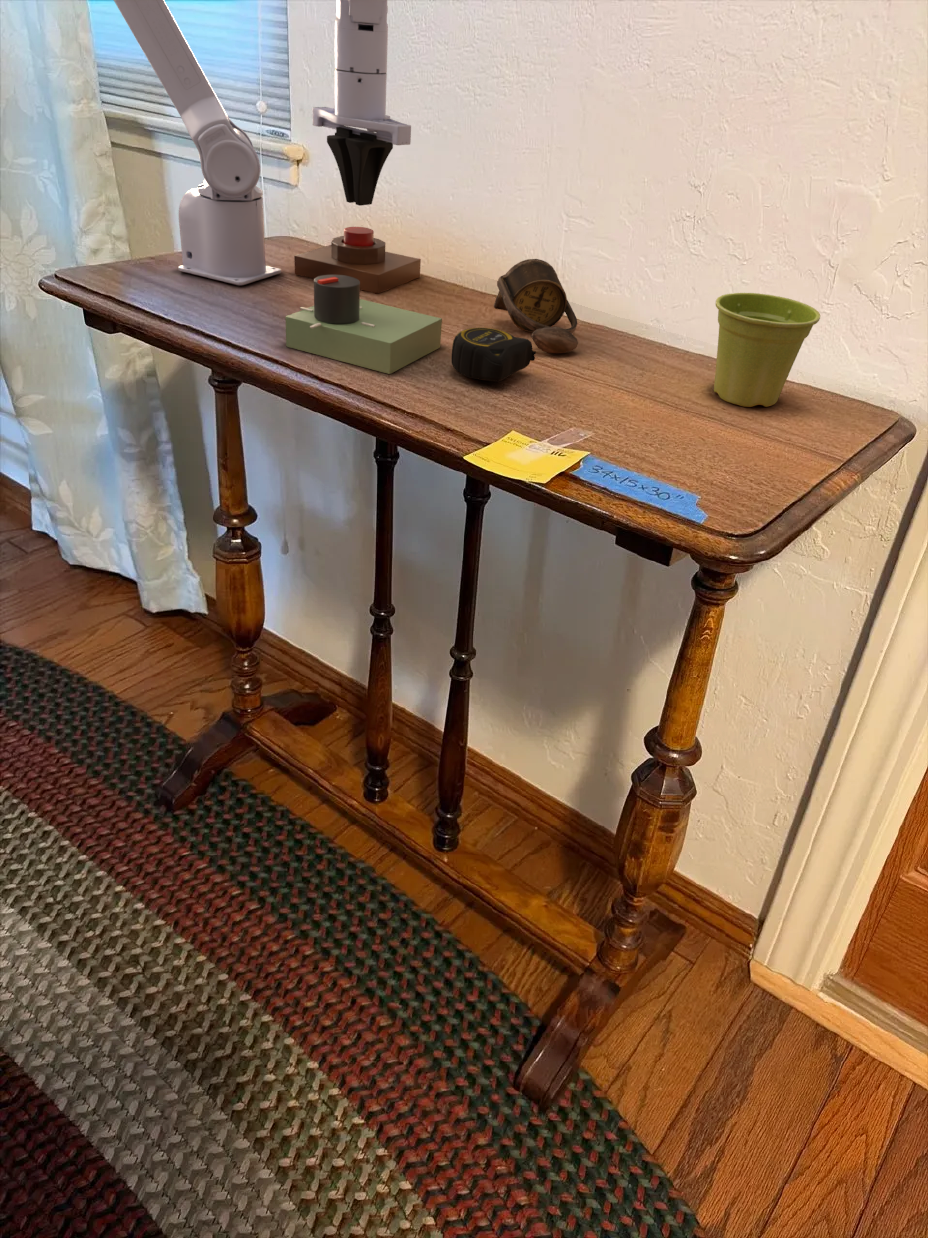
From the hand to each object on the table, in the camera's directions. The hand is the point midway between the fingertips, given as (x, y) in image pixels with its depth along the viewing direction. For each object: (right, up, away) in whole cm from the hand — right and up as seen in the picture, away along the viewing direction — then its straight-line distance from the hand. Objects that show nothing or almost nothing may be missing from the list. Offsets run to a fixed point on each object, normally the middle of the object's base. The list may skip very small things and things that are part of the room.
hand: (359, 202), depth 110 cm
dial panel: (+2, -22, -17) cm, 28 cm away
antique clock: (+20, -19, -10) cm, 29 cm away
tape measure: (+15, -26, -21) cm, 37 cm away
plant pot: (+40, -28, -20) cm, 53 cm away
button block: (-1, -7, +5) cm, 8 cm away
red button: (0, -4, +3) cm, 5 cm away
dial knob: (0, -20, -19) cm, 28 cm away
